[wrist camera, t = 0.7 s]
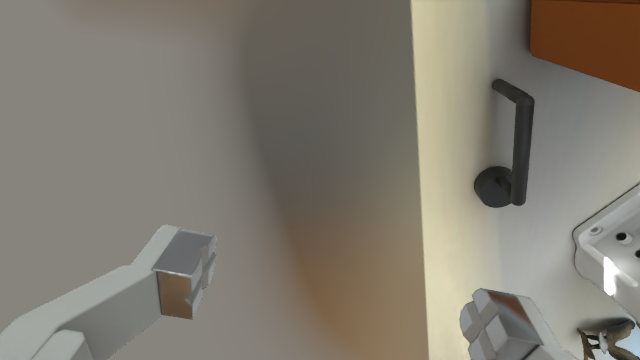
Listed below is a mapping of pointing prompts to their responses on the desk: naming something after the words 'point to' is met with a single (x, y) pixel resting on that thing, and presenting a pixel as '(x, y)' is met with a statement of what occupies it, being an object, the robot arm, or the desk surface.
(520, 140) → the door handle
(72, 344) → the robot arm
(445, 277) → the desk surface
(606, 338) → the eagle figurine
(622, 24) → the alarm clock
